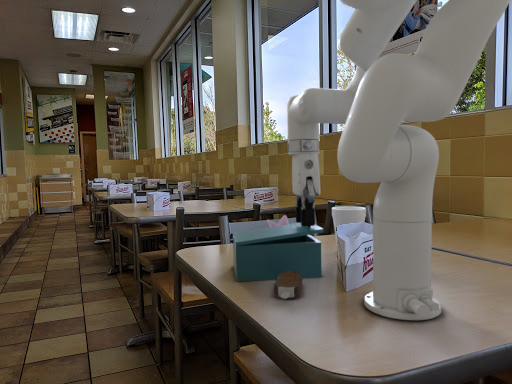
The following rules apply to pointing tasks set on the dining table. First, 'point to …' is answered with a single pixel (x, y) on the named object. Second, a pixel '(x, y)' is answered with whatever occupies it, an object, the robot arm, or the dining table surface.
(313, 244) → the chest
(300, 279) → the ice cream bar
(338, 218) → the foam cup
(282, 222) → the lily
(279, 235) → the lid
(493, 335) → the dining table surface
